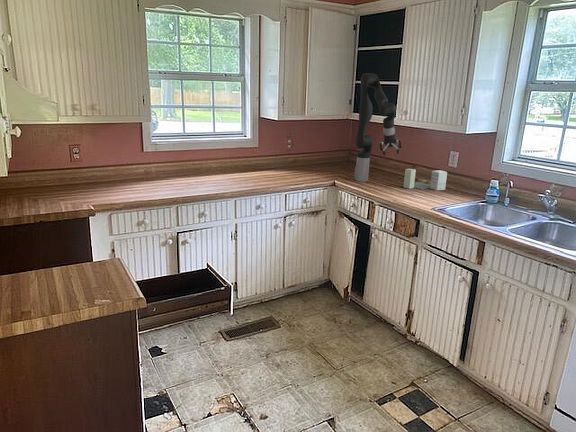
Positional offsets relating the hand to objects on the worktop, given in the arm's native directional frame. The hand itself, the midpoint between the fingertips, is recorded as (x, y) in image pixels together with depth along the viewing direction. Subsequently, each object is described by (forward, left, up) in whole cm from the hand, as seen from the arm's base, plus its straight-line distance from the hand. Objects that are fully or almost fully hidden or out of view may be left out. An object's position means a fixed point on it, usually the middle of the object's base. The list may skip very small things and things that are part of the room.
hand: (391, 154), depth 308 cm
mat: (+12, +21, -22) cm, 33 cm away
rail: (+12, +30, -22) cm, 39 cm away
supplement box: (+25, +23, -22) cm, 40 cm away
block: (+12, +8, -22) cm, 26 cm away
